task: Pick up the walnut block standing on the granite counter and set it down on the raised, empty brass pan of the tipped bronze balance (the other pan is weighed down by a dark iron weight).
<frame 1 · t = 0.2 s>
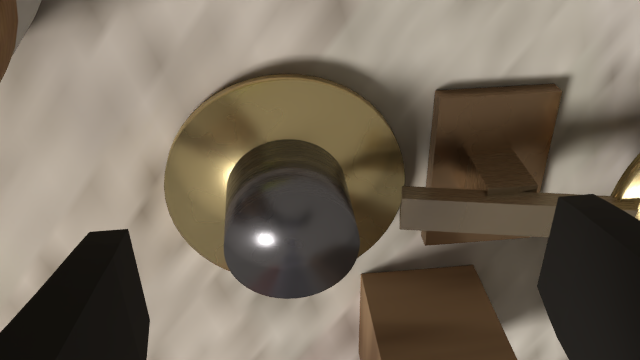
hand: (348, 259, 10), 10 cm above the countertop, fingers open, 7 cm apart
walnut block: (413, 309, 25), on the countertop
balance: (483, 164, 22), on the countertop
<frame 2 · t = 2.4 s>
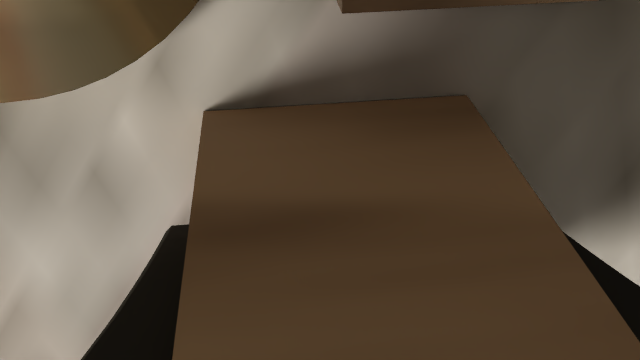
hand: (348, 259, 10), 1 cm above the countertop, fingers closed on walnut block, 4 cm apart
walnut block: (337, 210, 12), on the countertop, touching gripper
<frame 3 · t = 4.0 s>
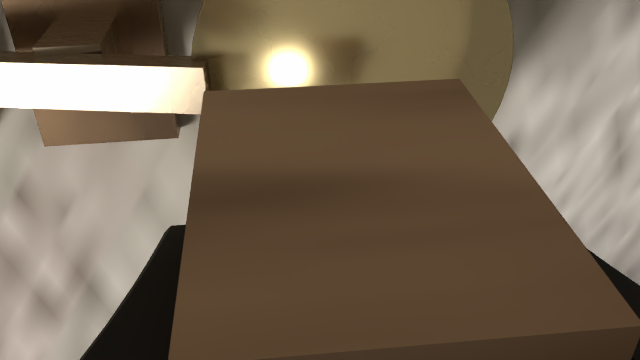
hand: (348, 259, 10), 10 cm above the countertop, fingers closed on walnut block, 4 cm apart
walnut block: (333, 192, 12), point 8 cm above the countertop, touching gripper
balance: (94, 40, 18), on the countertop
when the fingers open (6 cm above the countertop, at t = 5.6 s): walnut block stays where it is, resting on balance.
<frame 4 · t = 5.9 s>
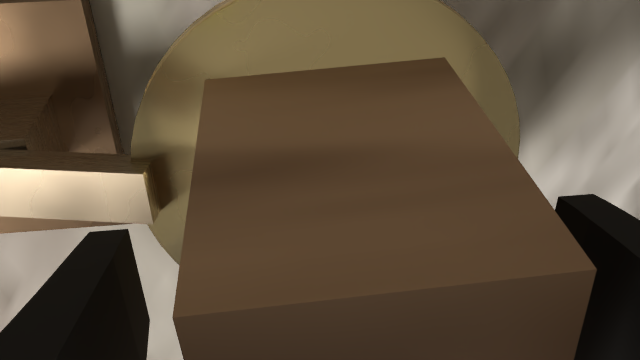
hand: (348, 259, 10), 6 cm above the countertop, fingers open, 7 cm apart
walnut block: (331, 169, 13), point 3 cm above the countertop, touching balance
balance: (31, 117, 15), on the countertop
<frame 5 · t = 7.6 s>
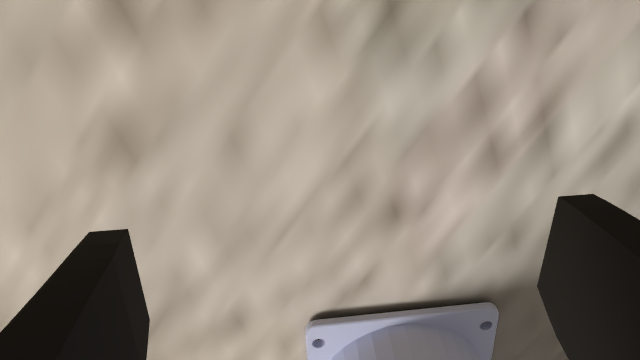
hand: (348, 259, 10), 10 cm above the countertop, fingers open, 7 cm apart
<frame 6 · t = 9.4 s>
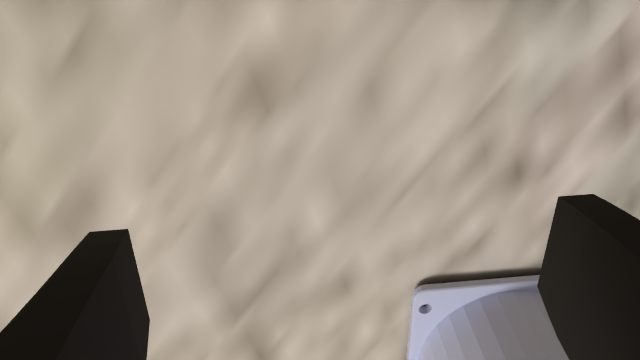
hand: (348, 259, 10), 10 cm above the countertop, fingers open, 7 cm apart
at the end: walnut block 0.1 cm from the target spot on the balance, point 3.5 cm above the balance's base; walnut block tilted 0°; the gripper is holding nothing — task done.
